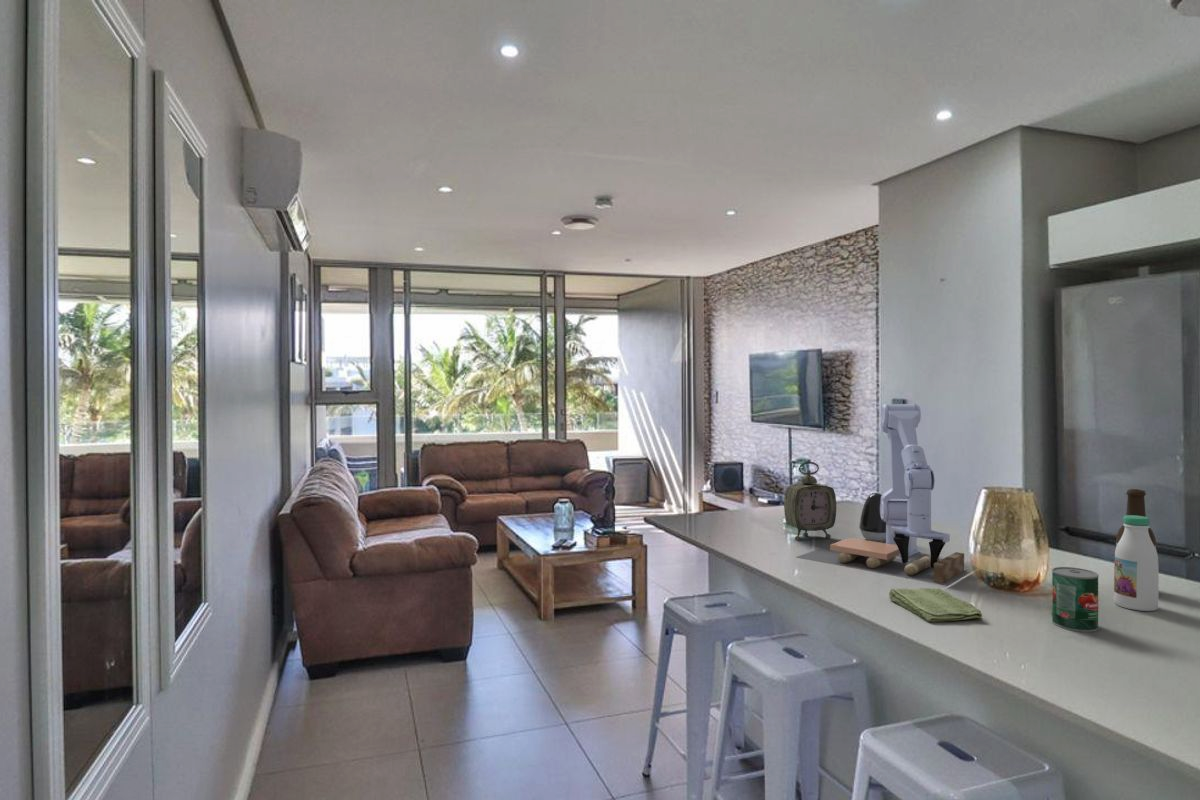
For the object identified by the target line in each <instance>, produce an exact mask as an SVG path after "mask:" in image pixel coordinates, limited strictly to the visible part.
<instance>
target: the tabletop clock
mask: <svg viewBox="0 0 1200 800" xmlns="http://www.w3.org/2000/svg"><path fill="white" fill-rule="evenodd" d="M809 464H811V465H815V466H816V468H817V470H815V471H813V472H811V470H810V469H809V470H807V471H806V472H803V471H802V470H801V468H802V467H803V466H804V465H809ZM819 470H820V467H819V465H818V464H817V462H815V461H805V462H803V463H801V464H800V465H799V466H798V471H799V473H801V475H804V476H803V477H802V478H801V480H800V482H798V483H791V484H790V485H788V486H786V489H785V492H784V500H783V501H784V502H783V509H784V511H783V512H784V518H785V522H786V524H787V525H788V526H790V527H793V528H795V529H797V535H796V536H795V537H794V539H795V541H801V536H800V535H801V532H802V531H804V532H803V534H802V536H803V537H805V538H806V537H809V533H808V531H809V532H810V531H811V532H817V531H818V532H819V531H822V532H823V533H824V535H825V538H826V539H829V540H830V539H831V537H832V535H830V534H829V533H828V532H827V530H829V529H831V528H834V526H835V523H836V520H837V519H836V518H837V517H836V516H837V498H836V497H837V496H836V493H835V489H834V488H833V487H832V486H829V485H825V484H822V483H819V482H818V480H817V478H816V477H815V476H813V475H815V474H817V473H818V472H819Z"/></svg>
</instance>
